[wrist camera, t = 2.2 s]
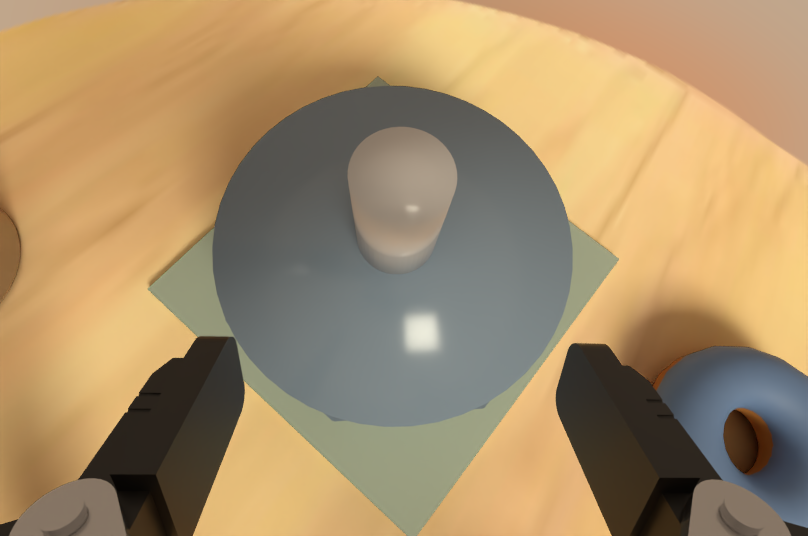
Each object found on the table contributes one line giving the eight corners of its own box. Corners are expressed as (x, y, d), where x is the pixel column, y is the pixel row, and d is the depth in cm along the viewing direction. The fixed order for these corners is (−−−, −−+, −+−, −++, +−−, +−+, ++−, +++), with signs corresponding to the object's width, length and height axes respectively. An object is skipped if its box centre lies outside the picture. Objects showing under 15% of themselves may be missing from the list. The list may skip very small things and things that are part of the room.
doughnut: (741, 320, 26) (809, 313, 22) (835, 484, 24) (931, 513, 20) (595, 384, 26) (634, 391, 21) (679, 557, 24) (741, 604, 19)
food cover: (192, 285, 25) (27, 191, 13) (380, 107, 29) (379, -85, 17) (408, 486, 22) (438, 585, 11) (579, 261, 26) (735, 158, 15)
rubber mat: (150, 290, 25) (147, 288, 25) (377, 80, 30) (377, 76, 30) (412, 538, 22) (413, 541, 22) (616, 261, 27) (619, 259, 27)
